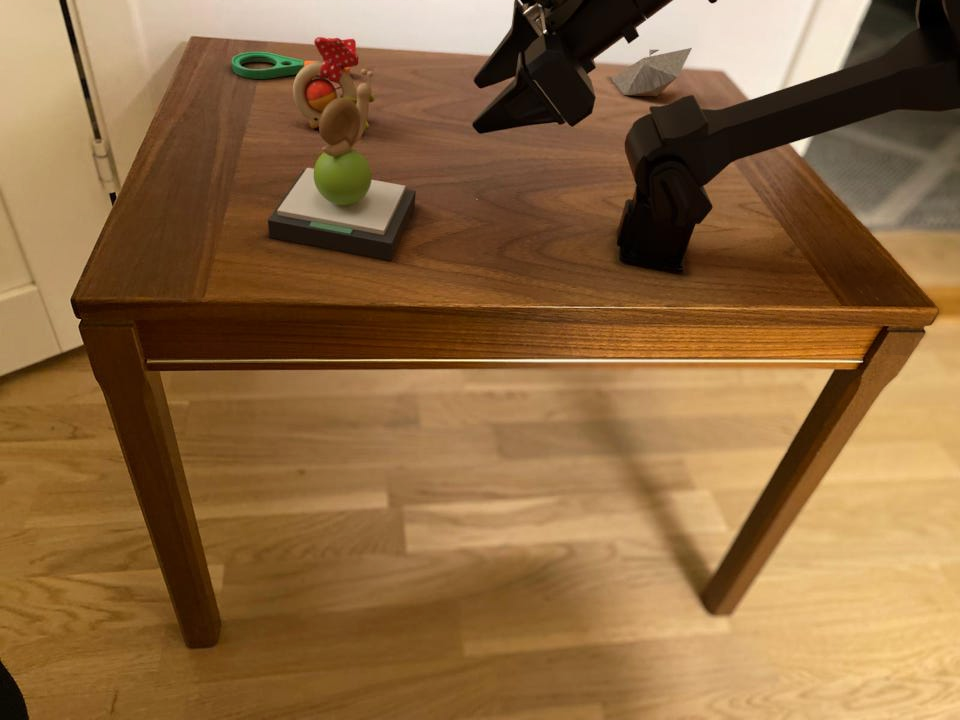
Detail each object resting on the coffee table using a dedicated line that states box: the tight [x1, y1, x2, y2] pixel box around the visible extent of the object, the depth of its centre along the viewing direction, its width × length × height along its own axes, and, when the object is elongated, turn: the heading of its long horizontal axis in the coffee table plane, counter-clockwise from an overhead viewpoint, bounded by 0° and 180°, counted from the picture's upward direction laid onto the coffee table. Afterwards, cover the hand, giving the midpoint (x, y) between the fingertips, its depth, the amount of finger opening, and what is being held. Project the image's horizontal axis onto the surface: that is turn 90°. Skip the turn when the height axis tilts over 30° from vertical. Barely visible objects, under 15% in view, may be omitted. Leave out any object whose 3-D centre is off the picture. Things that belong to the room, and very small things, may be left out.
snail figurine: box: [313, 68, 374, 205], centre depth 69 cm, size 5×6×12 cm
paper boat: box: [610, 47, 693, 98], centre depth 106 cm, size 12×6×9 cm
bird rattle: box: [292, 36, 375, 131], centre depth 85 cm, size 6×11×9 cm
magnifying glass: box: [231, 51, 351, 80], centre depth 98 cm, size 15×6×2 cm, turn 97°
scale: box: [267, 167, 417, 261], centre depth 74 cm, size 12×10×3 cm
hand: (475, 105), depth 66 cm, fingers open, 9 cm apart
